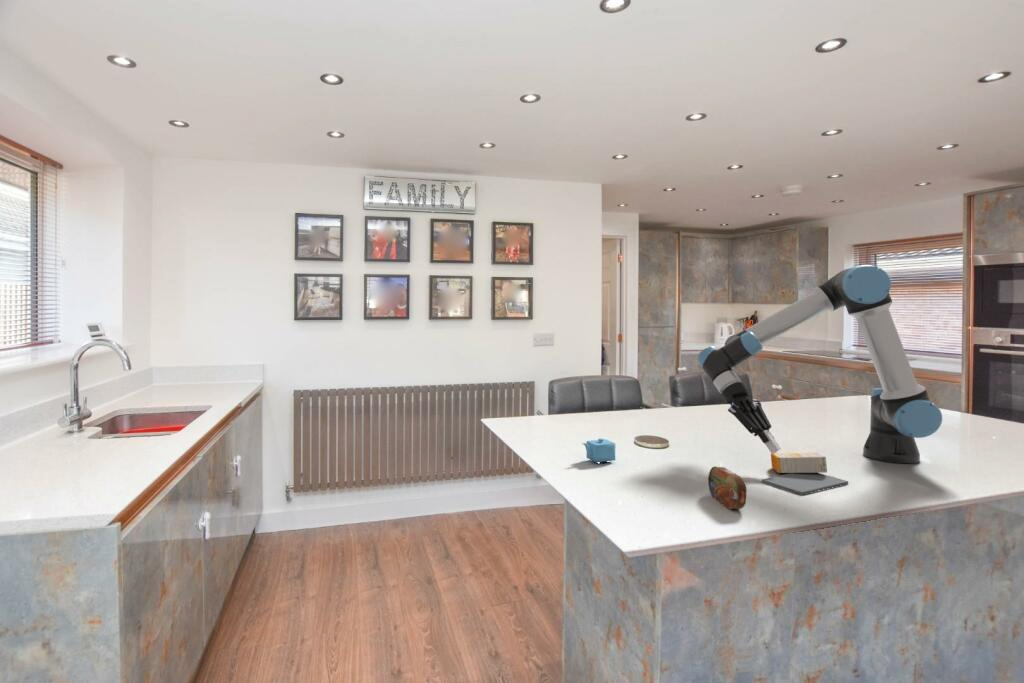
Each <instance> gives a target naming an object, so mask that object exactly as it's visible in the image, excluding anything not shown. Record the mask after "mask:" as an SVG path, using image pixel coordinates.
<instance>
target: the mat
mask: <svg viewBox="0 0 1024 683" xmlns="http://www.w3.org/2000/svg"><path fill="white" fill-rule="evenodd" d="M761 483H764V484H766V485H769V486H772V487H775V488H778V489H781V488H782V489H781V490H785V491H787V490H788V491H787V492H790V491H791V492H790V493H793V492H794V494H796V493H798V494H797V495H799V494H801V495H800V496H804V495H803V494H806V493H810V494H812V493H811V492H814V493H816V492H815V491H818V490H822V491H824V490H823V489H826V490H828V489H827V488H830V489H833V488H832V487H834V488H837V487H836V486H838V487H841V486H840V485H842V486H845V485H844V484H846V485H849V481H848V480H845V479H842V478H837V477H835V476H831V475H827V474H825V473H824V474H823V473H784V474H781V475H777V476H771V477H767V478H763V479H761ZM818 492H819V491H818ZM806 495H807V494H806Z"/></svg>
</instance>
